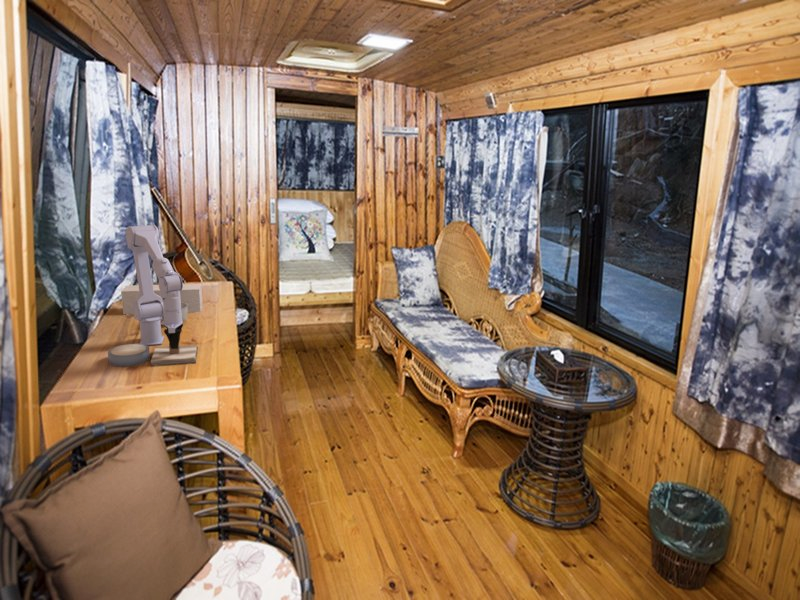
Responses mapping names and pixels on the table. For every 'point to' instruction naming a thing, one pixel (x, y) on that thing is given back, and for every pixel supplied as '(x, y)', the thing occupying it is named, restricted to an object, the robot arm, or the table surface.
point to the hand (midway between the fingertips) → (175, 346)
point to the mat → (177, 362)
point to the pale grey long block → (188, 295)
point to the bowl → (128, 355)
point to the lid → (174, 354)
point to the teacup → (183, 311)
